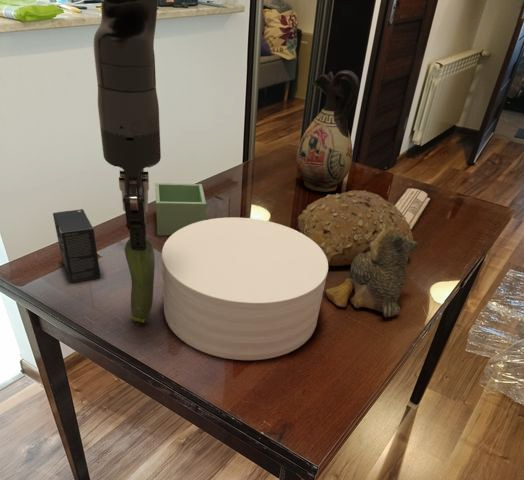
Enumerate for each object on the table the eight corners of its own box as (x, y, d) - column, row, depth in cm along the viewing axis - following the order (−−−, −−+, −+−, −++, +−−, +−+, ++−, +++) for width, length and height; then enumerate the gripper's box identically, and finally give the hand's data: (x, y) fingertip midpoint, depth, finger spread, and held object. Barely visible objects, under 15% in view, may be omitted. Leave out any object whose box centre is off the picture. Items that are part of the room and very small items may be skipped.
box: (62, 262, 95) (52, 212, 88) (91, 258, 97) (84, 208, 90) (70, 283, 90) (60, 231, 83) (101, 278, 92) (94, 227, 85)
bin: (157, 235, 107) (155, 202, 102) (156, 214, 115) (155, 182, 110) (205, 235, 109) (206, 203, 104) (201, 214, 117) (201, 184, 112)
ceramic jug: (281, 184, 136) (297, 63, 117) (311, 171, 146) (329, 58, 127) (333, 204, 129) (358, 79, 110) (360, 189, 139) (388, 72, 120)
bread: (370, 221, 123) (383, 175, 116) (417, 264, 109) (435, 214, 101) (283, 228, 116) (290, 179, 108) (320, 275, 101) (331, 222, 93)
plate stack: (272, 384, 75) (281, 326, 68) (131, 319, 84) (125, 261, 76) (339, 301, 94) (352, 248, 87) (219, 255, 103) (221, 204, 96)
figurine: (348, 271, 103) (364, 204, 94) (412, 296, 98) (437, 229, 89) (318, 300, 94) (333, 229, 84) (388, 330, 89) (412, 258, 79)
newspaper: (406, 192, 141) (408, 186, 140) (430, 199, 139) (432, 193, 138) (384, 221, 124) (386, 215, 123) (411, 229, 122) (413, 222, 121)
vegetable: (143, 310, 86) (136, 203, 73) (162, 319, 85) (158, 212, 72) (126, 322, 83) (115, 213, 70) (145, 332, 81) (138, 222, 69)
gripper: (103, 106, 67) (115, 221, 78) (95, 140, 57) (111, 267, 68) (158, 109, 69) (162, 221, 80) (160, 143, 58) (165, 266, 69)
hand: (139, 242), depth 74 cm, fingers closed on vegetable, 3 cm apart
